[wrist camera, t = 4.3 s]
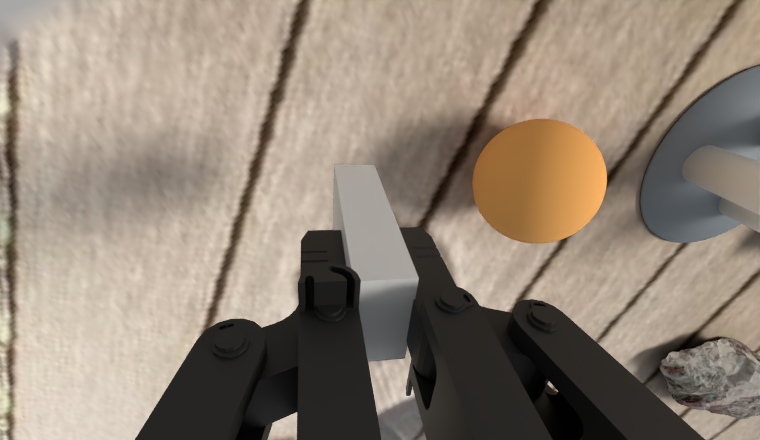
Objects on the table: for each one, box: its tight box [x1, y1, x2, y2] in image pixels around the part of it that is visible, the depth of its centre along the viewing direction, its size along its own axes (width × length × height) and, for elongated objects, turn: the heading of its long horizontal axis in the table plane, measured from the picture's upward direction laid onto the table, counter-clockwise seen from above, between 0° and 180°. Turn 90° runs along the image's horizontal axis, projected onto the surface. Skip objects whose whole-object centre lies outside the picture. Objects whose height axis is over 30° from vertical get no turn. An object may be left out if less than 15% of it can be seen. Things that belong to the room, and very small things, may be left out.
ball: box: [472, 119, 607, 243], centre depth 18 cm, size 6×6×6 cm
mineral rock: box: [659, 338, 760, 419], centre depth 35 cm, size 15×8×4 cm, turn 44°
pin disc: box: [640, 65, 760, 243], centre depth 24 cm, size 12×12×1 cm
